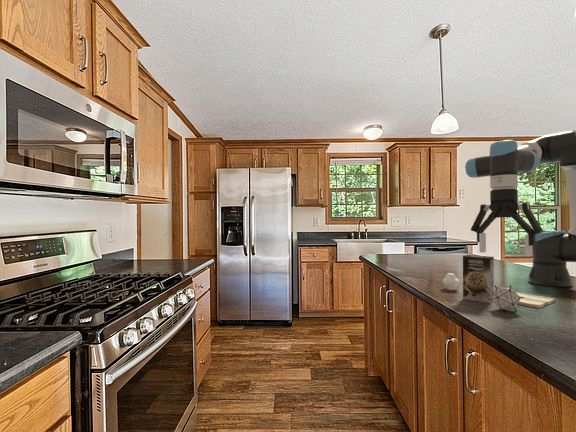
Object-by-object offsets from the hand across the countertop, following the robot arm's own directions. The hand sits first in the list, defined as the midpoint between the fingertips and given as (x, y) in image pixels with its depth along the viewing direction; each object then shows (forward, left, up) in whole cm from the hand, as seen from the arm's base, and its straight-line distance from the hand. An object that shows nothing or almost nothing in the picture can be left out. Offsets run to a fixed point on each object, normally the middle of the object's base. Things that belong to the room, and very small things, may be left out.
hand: (504, 254), depth 106 cm
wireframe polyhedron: (0, 0, -19) cm, 19 cm away
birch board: (-18, -1, -18) cm, 26 cm away
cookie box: (-7, -12, -19) cm, 23 cm away
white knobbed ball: (-14, -27, -19) cm, 36 cm away
